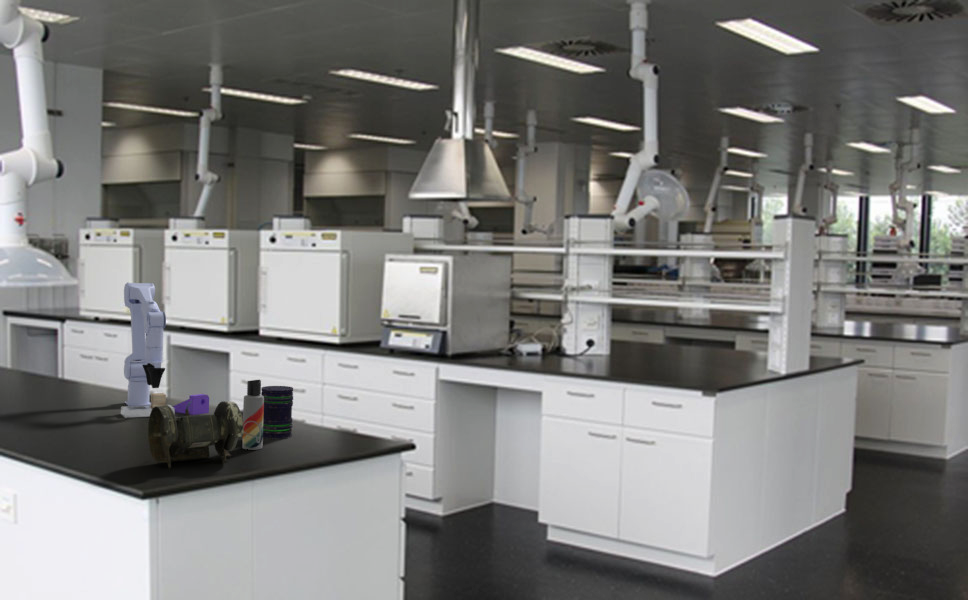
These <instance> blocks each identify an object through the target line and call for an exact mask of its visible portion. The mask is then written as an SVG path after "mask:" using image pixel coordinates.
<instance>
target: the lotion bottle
mask: <svg viewBox="0 0 968 600" xmlns="http://www.w3.org/2000/svg"><path fill="white" fill-rule="evenodd" d="M246 384H247V386H246V389H247V390H246V391H247V392H246V395H244V396H243V405H242V408H243V409H242V411H243V412H242V420H243V429H244V434H243V436H242V442H241V443H242V446H241V447H242V449H243V450H247V449H248V450H249V451H255V450H261V449H263V442H264V438H263V413H264V396H262V395H261V392H262V391H261V388H262V380H261V379H253V380H252V379H251V380H247V383H246ZM248 450H247V451H248Z"/></svg>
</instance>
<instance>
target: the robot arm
mask: <svg viewBox="0 0 968 600" xmlns="http://www.w3.org/2000/svg"><path fill="white" fill-rule="evenodd" d="M123 287H124V288H123V302H124V306H125V307H126V308H129V313H130V327H131V329H130V330H131V331H130V332H131V351H132V352H131V354H129V355H127V356H126V357H125V359H124V367H123V376H124V378H125V380H127V381H128V385H127V400H124V403H125V404H126V406H150V405H151V401H150V392H151V390H150V388H152V389H159V388H160V385H161V381H162V378H163V374H164V373H165V370H166V368H165V367H162V363H164V359H163V358H164V357H163V356H164V329H165V328H166V325H167V317H166V316H167V315H166V313H165V311H163V310H162V311H161V310H160V308H159V305H158V303H157V302H156V301H155V300H154V298H155V295H156V286H155V284H154V283H153V282H150V283H149V282H148V283H147V282H145V283H144V282H143V283H142V282H139V283H138V282H126V283H125V285H124V286H123ZM150 386H151V387H150Z"/></svg>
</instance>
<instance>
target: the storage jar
mask: <svg viewBox="0 0 968 600" xmlns="http://www.w3.org/2000/svg"><path fill="white" fill-rule="evenodd" d="M293 391H294V387H292V386H285V385H267V386H261V395H262V396H264V413H263V437H264V438H263V439H268V438H272V439H274V440H281V438H284V439H288V437H289V438H291V437H293V434H292V432H293V417H292V416H293V415H292V413H293V405H294V392H293ZM272 439H271V440H272Z"/></svg>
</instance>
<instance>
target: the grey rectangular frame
mask: <svg viewBox="0 0 968 600" xmlns="http://www.w3.org/2000/svg"><path fill="white" fill-rule="evenodd" d="M167 405H168V406H169V407H170V408H171V409H172V411H173V413H174V416H175V413H176V412H175V408H174V407H172V405H171V404H167ZM151 411H152V408H151V405H144V406H128V405H126V406H120V415H121V416H122V417H123V418H124V419H129V418H149V417H150V413H151Z"/></svg>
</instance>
